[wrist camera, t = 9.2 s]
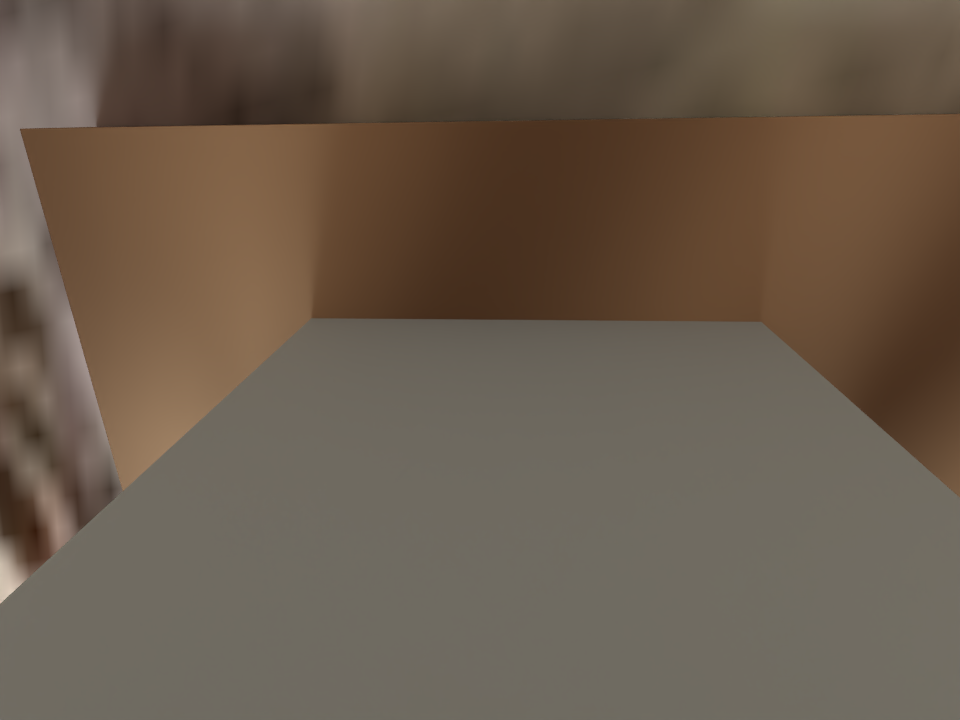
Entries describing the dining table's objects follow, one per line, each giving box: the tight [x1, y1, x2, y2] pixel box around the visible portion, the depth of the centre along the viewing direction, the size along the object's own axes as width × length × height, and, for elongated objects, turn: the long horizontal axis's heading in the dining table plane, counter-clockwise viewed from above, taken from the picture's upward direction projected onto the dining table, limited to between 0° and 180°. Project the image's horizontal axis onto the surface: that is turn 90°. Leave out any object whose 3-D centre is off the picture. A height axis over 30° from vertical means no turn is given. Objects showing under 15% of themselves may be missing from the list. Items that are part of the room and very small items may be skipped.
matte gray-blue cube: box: [0, 318, 960, 720], centre depth 7 cm, size 6×6×7 cm
